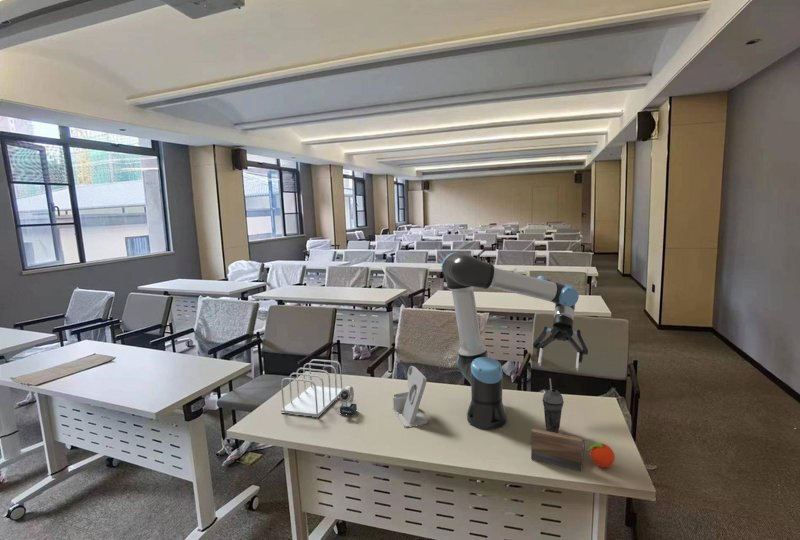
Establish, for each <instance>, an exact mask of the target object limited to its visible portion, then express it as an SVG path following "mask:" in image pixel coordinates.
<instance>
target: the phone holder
mask: <svg viewBox="0 0 800 540" xmlns="http://www.w3.org/2000/svg"><path fill="white" fill-rule="evenodd" d="M407 383H408V391H406V392H401V393H394V394H393V396H392V401H393V402H392V403H393V404H392V405H393V406H392V411H393V410H394V411H393V413H394V412H395V413H394V415H395V414H396V415H397V416H396V415H395V416H396V418H397V417H398V418H399V419H398V418H397V419H398V421H399V420H400V421H401V422H400V421H399V422H400V424H401V423H402V424H403V425H402V424H401V425H402V427H403V426H404V427H403V428H405V427H409V428H411V427H410V426H414V427H417V426H416V425H419V426H423V424H425V425H426V424H428V423H429V420H428V419H427V418H426V416H425V415H424V414H423V413H422V412H421V410H420V409H419V408H420V404H421V401H422V398H423V396H424V395H423V394H424V392H425V388H426V386H427V377H426V376H425V375H424V374H423V373H422V372H421V371H420V370H419V369H418V368H417V367H416V366H413V365H410V366H409V368H408V371H407ZM399 414H402V416H403V417H404V418H405V420H406V421H407V423H408V424H409V425H405V424H404V422H403V421H402V419H401V418H400V416H399Z"/></svg>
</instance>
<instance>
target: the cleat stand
mask: <svg viewBox="0 0 800 540" xmlns="http://www.w3.org/2000/svg"><path fill="white" fill-rule="evenodd" d="M530 441H531V443H530V444H531V447H530V448H531V449H530V450H531V453H530V454H531V455H530V456H531V457H530V460H531V459H532V460H531V461H534V460H535V462H538V463H544V464H547V465H553V466H557V467H561V468H564V469H568V468H569V469H570V470H573V471H577V472H578V471H579V472H581V471H582V467H583V461H584V454H585V450H586V449H585V444H586V440H584V439H583V437H578V436H574V435H568V434H563V433H559V432H558V433H554V432H549V431H546V430H544V429H540V428H539V429H538V428H532V429H531V440H530Z"/></svg>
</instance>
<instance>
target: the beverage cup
mask: <svg viewBox="0 0 800 540" xmlns="http://www.w3.org/2000/svg"><path fill="white" fill-rule="evenodd" d="M564 403H565V402H564V397H563V395H562V394H561V392H560V391H558V389H557V390H556V389H553V387H552V378H549V389H548V390H546V391H545V392H544V393H543V396H542V405H543V411H544V423H545V431H549V432H554V433H559V432H560V426H561V418H562V412H563V411H562V410H563V406H564Z"/></svg>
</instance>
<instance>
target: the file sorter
mask: <svg viewBox="0 0 800 540" xmlns="http://www.w3.org/2000/svg"><path fill="white" fill-rule="evenodd" d="M312 362H326V363H336V364H338V368H339V377H340V387H339V388H338V386H337V383H338V382H337V370H336V367H334V365H331V364H321V363H312ZM307 365H308V367H306V366H307ZM312 366H316V367H317V366H318V367H319V366H320V367H328V368H329V367H330V368H332V369H333V370H334V371H333V372H334V383H335V385H334V387H331V376H330V373H329V372H328V371H327V370H325V369H324V370H323V369H317V368H316V369H315V368H311V367H312ZM300 370H302V371H303V373H301V372H300V373H299V371H300ZM305 371H309V374H308V373H306V372H305ZM312 371H314V372H320V373H325V374H326V375H327V377H328V386H325V385H324V379H323V378H322V377H321V376H320V375H315V374H312ZM293 375H296V378H292V376H293ZM299 376H303V379H302V378H299ZM342 376H343V375H342V366H341V363H340V362H339V361H338V360H330V359H329V360H328V359H315V358H314V359H311V360H310V361H309V362H306V363H305V364H304V365H303V367H299V368H297V370H296V372H292V373H290V375H289V377H284V378H282V379H281V381H280V388H281V399H282V408H281V410H280V413H281V412H284V413H291V414H299V415H305V416H304V417H306V416H312V417H311V418H314V417H319V416H320V415H321V414H322V413H323V412H324V411H325V410H326V409H327V408H328V407H329V406H330V405H331V404H332V403H333V402H334V401H335V400H336V399H337V398H338V397H339V393H340V392H341V391H342V389H343V381H342V380H343V377H342ZM306 377H309V379H306ZM312 377H313V378H319V379H320V380H321V381H320V382H321V386H319V385H316V383H315V382H314V381H313V380H312V379H313V378H312ZM285 380H287V381H288V382H289V395H290V397H289V399H290V402H289V403H288V404H286V405H285V397H284V384H283V383H284V381H285ZM292 381H296V387H297V396H296V397H295V398H293V396H292V395H293V394H292V393H293V391H292ZM299 382H303V387H304V391H302V392H301V393H300V391H299V390H300V388H299V387H300V386H299ZM306 382H308V383H310V386H308V387H307V386H306V385H307V384H306ZM338 399H339V398H338ZM338 399H337V400H338ZM337 400H336V401H337ZM336 401H335V402H336ZM335 402H334V403H335ZM334 403H333V404H334ZM333 404H332V405H333ZM332 405H331V406H332ZM331 406H330V407H331ZM330 407H329V408H330ZM329 408H328V409H329ZM328 409H327V410H328ZM327 410H326V411H327ZM326 411H325V412H326ZM325 412H324V413H325ZM324 413H323V414H324ZM323 414H322V415H323ZM322 415H321V416H322ZM321 416H320V417H321ZM320 417H319V418H320Z"/></svg>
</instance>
